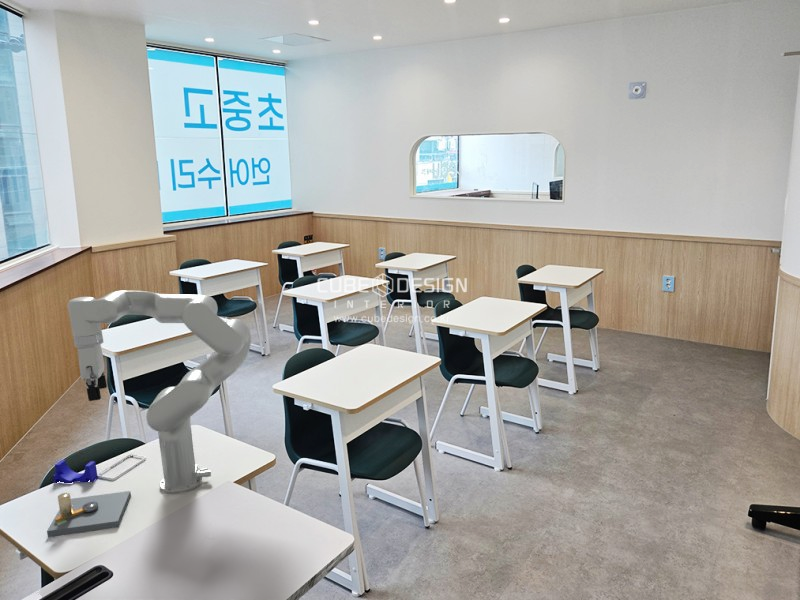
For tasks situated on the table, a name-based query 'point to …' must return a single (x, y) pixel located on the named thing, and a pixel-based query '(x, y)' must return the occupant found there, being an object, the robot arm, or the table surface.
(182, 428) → the robot arm
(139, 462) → the grey rectangular frame
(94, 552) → the table surface
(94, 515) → the dial panel
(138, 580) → the table surface
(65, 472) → the blue cradle holder
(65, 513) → the dial lever
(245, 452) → the table surface
